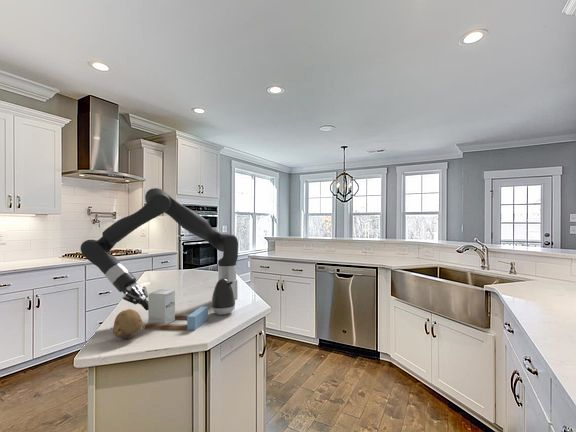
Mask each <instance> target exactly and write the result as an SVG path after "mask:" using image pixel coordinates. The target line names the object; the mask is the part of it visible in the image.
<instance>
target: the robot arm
mask: <svg viewBox="0 0 576 432" xmlns="http://www.w3.org/2000/svg"><path fill="white" fill-rule="evenodd" d="M144 200H145V205H143V207H141V208H140V209H139V210H137V211H136V212H134V213H132V214H130V215H128V216H124V217H122V218H120V219H119V220H116V221H115V222H113V223H112V224H111V225H109V226H108V227H107V228H106V229H104V230H103V231H102V234H101V235H102V236H101V237H100V238H99V239H98V240H95V239H86V240H84V241H83V242H81V245H80V252H81V255H82V256H83V257H84V258H85V259H86V260H87V261H89V262H90V263H91V264H93V265H94V266H96V267H98V269H99V270H100V271H101V273H102V274H104V276H105V277H106V278H107V280H108V281H109V282H110V283H111V285H112V286H114V287H115V289H117V291H118V292H119V293H123V294H124V296H123V297H122V300H125V301H127V302H128V303H131V304H133V305H137V304H138V305H141V307H142V308H143V309H144V310H145V311H148V294H149V293H148V289H147V286H143V287H141V286H140V284H138V283H137V278H136V277H135V276H134V275H133V273H132V272H131V271H130V270H128V268H127V267H126V266H124V265H123V264H122V263H121V262H120V260H119V259H117V258H116V257H115V256H114V255H112V254H110V253H109V252H110V251H111V250H112V249H113V248H114V247H115V245H117V243H119V242H120V241H121V240H123V239H124V238H125V237H127V236H128V235H130V234H131V233H132V232H134V231H135V230H137V229H138V228H140V227H142V226H143V225H144V224H147V223H148V222H150V221H151V220H153V219H155V218H157V217H159V216H161V215H163V214H166V215H168V216H169V217H170V218H172V219H173V220H174V221H175V222H176V223H177V224H178V225H179V226H180V227H182V228H183V229H184V230H185V231H187V232H189V233H190V234H192V235H194V236H196V237H198V238H199V239H202V240H203V241H205V242H206V243H208V244H210V245H211V246H212V247H213V248H215V250H217V251H219V252H222V254H223V255H222V258H220V259H218V261H217V267H218V269H217V271H218V272H217V274H218V276H217V277H218V278H217V279H218V280H217V282H218V281H219V280H220V279H223V278H224V279H227V280H228V281H229V282H231V281H232V282H233V284H231V286H232V289H233V292H234V297H235V300H236V299H238V298H239V297H238V279H237V262H238V257H239V240H238V238H237V236H236V235H233V234H230V233H229V234H228V233H227V234H226V233H221V232H219V231H217V230H216V229H214V228H213V227H212V226H211V224H210V223H209V221H208V220H207V219H206V218H204V217H203V216H202V215H200V214H199V213H197V212H195V211H194V210H193V209H191V208H189V207H186V206H185V205H183V204H181V203H180V202H178V201H177V200H176V199H174V198H173V197H172V196H171V195H169V193H167V192H166V191H165V190H164V189H161V188H156V187H153V188H150V189H148V190H147V191H146V193H145V195H144Z"/></svg>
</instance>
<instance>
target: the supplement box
mask: <svg viewBox="0 0 576 432" xmlns="http://www.w3.org/2000/svg"><path fill="white" fill-rule="evenodd" d="M147 301H148V310H147V312H148V313H147V314H148V316H147V317H148V319H147V320H148V323H153V324H172V322H174V321H176V319H175V314H176V290H175V289H158V290H155V291H152V292H149V293H148V297H147Z"/></svg>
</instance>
